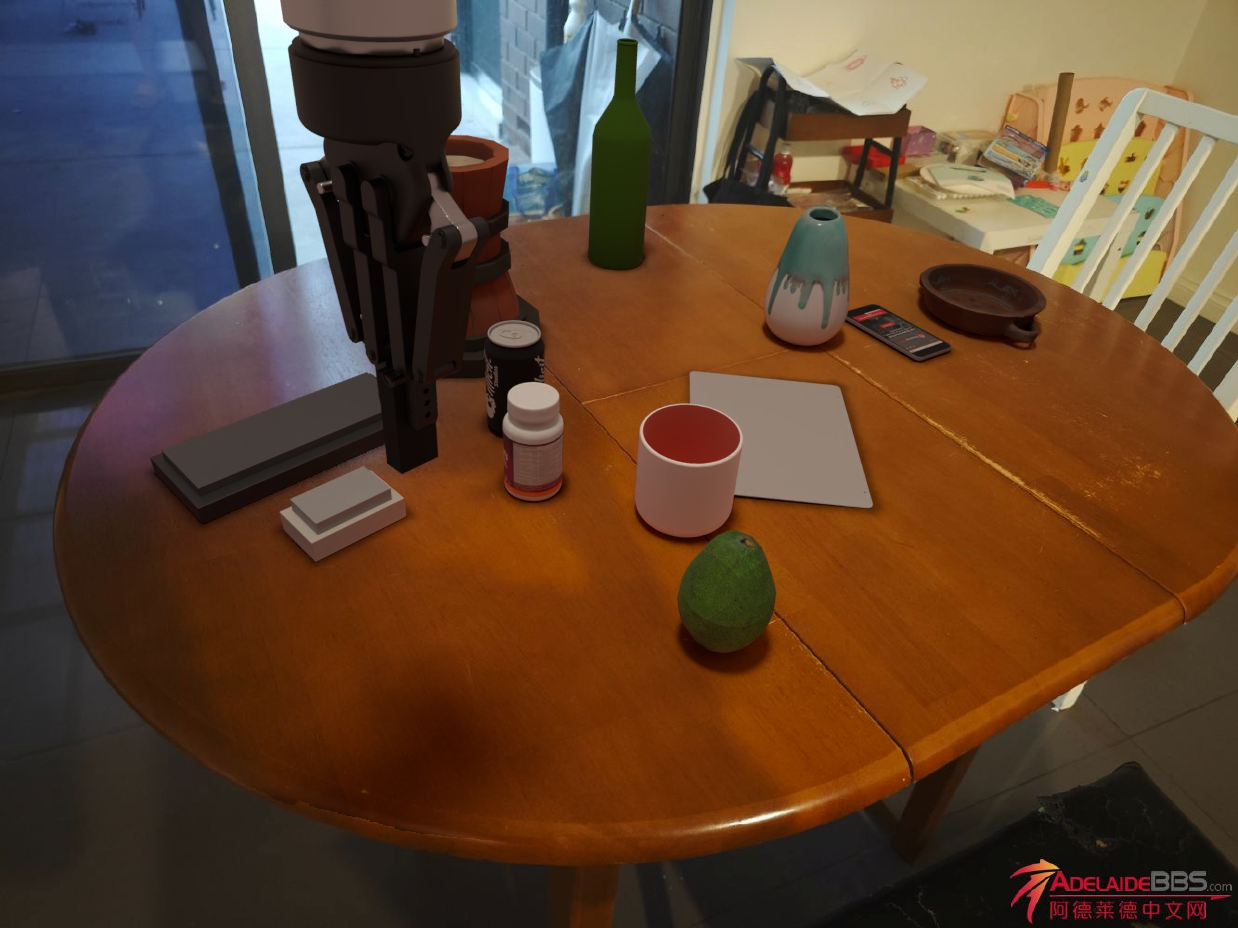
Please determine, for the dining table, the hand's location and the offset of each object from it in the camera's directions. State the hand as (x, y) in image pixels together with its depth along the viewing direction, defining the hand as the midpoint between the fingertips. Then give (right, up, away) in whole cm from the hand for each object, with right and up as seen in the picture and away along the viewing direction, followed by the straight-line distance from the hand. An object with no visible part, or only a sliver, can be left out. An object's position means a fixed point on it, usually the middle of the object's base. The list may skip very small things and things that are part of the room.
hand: (412, 459), depth 52 cm
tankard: (-10, +17, +64) cm, 67 cm away
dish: (+66, +22, +78) cm, 105 cm away
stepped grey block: (-14, -6, +32) cm, 36 cm away
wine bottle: (+12, +33, +87) cm, 94 cm away
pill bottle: (+3, -3, +39) cm, 39 cm away
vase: (+38, +18, +70) cm, 81 cm away
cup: (+19, -5, +36) cm, 41 cm away
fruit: (+21, -16, +23) cm, 35 cm away
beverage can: (+1, +4, +48) cm, 48 cm away
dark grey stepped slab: (-23, +2, +41) cm, 47 cm away
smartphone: (+52, +18, +71) cm, 90 cm away
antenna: (+29, +3, +49) cm, 57 cm away
